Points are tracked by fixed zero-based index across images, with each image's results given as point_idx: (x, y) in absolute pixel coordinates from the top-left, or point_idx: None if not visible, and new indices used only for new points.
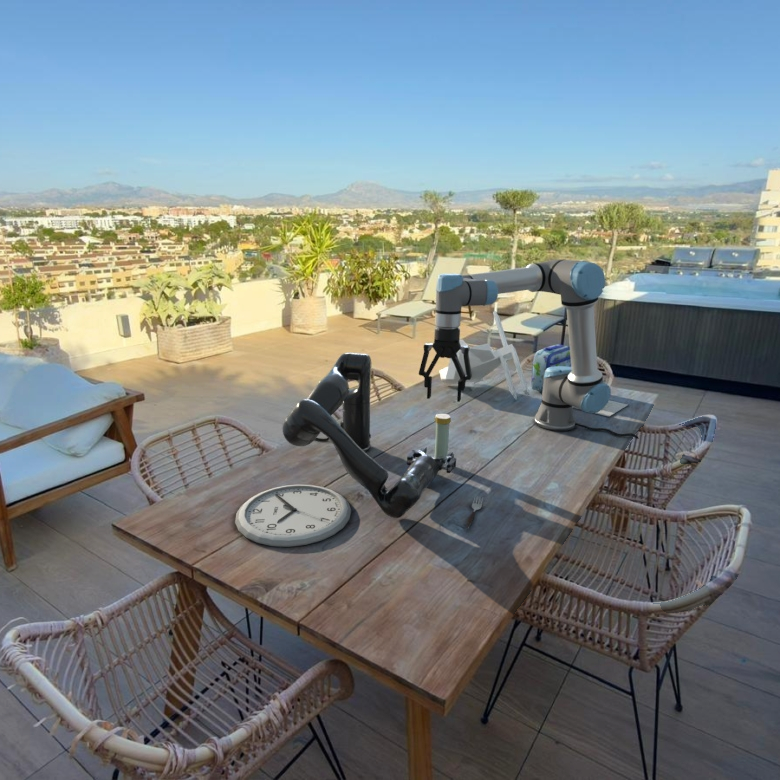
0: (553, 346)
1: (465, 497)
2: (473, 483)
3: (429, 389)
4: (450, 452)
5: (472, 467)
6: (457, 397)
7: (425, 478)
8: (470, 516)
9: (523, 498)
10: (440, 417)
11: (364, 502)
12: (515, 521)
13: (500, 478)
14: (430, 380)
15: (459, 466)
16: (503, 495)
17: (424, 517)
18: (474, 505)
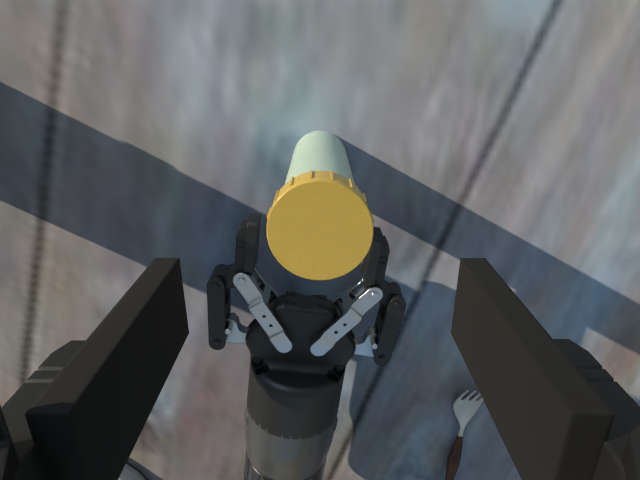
0: None
1: (432, 361)
2: (456, 274)
3: (155, 395)
4: (373, 249)
5: (450, 148)
6: (464, 356)
7: (321, 475)
8: (452, 460)
9: (611, 322)
10: (308, 263)
11: (168, 450)
12: None
13: (555, 210)
14: (107, 462)
15: (397, 155)
16: (550, 321)
17: (336, 469)
18: (461, 404)
